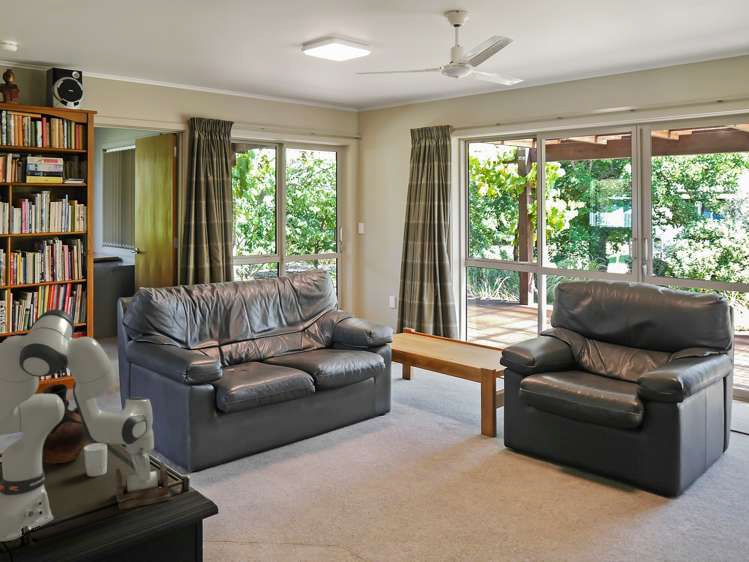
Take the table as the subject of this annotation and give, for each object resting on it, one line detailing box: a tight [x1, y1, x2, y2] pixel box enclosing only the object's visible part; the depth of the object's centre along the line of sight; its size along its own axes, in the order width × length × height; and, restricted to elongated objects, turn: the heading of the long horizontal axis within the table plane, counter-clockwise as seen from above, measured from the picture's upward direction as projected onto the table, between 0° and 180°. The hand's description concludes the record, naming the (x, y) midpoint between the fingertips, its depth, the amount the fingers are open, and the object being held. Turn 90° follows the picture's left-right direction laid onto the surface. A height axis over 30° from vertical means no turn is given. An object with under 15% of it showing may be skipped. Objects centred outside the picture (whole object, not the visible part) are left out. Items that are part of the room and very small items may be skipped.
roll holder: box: [114, 461, 171, 510], centre depth 230 cm, size 16×13×10 cm
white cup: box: [83, 443, 108, 477], centre depth 251 cm, size 8×8×10 cm
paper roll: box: [125, 470, 158, 493], centre depth 230 cm, size 10×6×6 cm, turn 115°
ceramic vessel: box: [42, 383, 90, 464], centre depth 262 cm, size 21×18×30 cm
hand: (141, 484), depth 230 cm, fingers closed on paper roll, 5 cm apart
